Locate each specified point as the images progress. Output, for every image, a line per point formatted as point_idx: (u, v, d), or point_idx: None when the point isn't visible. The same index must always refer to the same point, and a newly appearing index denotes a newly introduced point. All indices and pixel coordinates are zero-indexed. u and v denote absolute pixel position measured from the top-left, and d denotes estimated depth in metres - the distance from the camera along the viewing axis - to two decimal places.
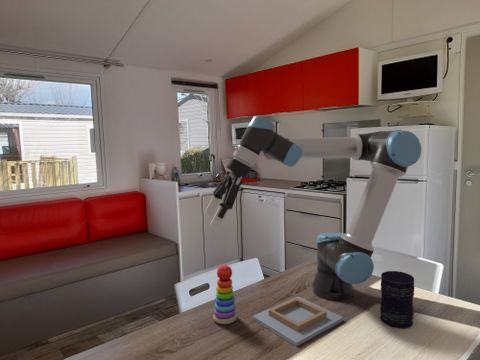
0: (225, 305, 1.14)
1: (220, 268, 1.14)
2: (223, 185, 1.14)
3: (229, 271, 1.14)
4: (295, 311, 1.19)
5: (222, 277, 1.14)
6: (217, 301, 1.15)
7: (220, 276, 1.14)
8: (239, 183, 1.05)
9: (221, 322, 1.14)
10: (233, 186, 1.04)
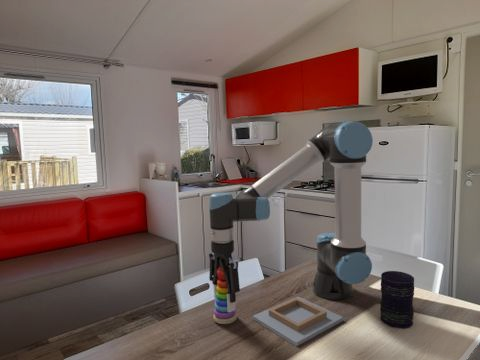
0: (225, 305, 1.14)
1: (220, 268, 1.14)
2: (217, 268, 1.16)
3: None
4: (295, 311, 1.19)
5: (222, 277, 1.14)
6: (217, 301, 1.15)
7: (220, 276, 1.14)
8: (236, 266, 1.10)
9: (221, 322, 1.14)
10: (233, 272, 1.10)
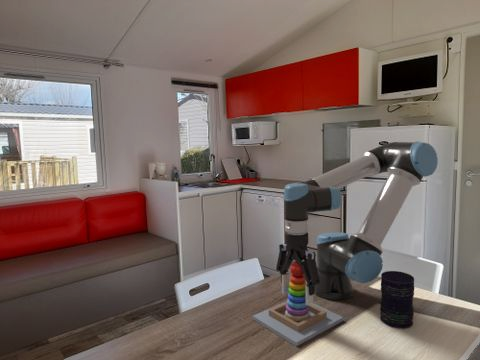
0: (300, 302, 1.12)
1: (294, 264, 1.12)
2: (289, 260, 1.15)
3: None
4: None
5: (297, 273, 1.12)
6: (291, 298, 1.13)
7: (295, 272, 1.12)
8: (314, 257, 1.08)
9: (296, 319, 1.12)
10: (311, 263, 1.07)
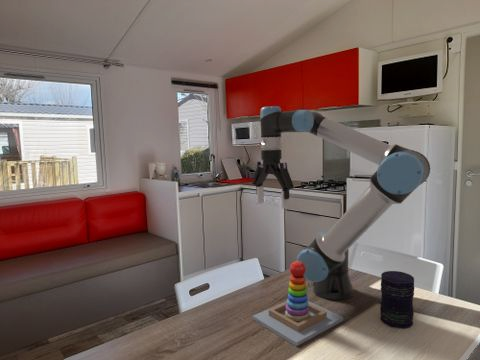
0: (300, 302, 1.12)
1: (294, 264, 1.12)
2: (264, 174, 1.32)
3: (303, 267, 1.12)
4: None
5: (297, 273, 1.12)
6: (291, 298, 1.13)
7: (294, 272, 1.12)
8: (285, 166, 1.25)
9: (296, 319, 1.12)
10: (284, 171, 1.24)
